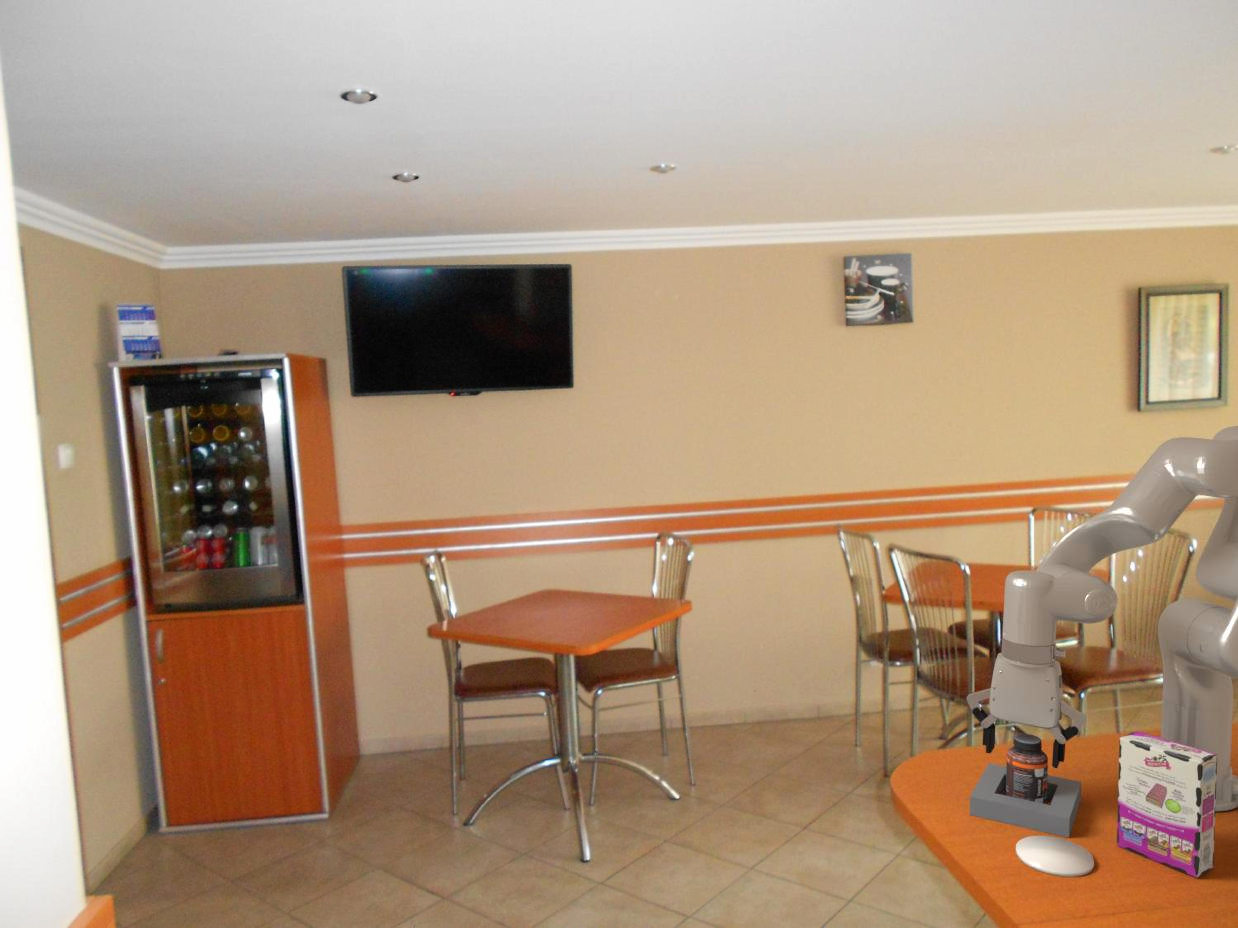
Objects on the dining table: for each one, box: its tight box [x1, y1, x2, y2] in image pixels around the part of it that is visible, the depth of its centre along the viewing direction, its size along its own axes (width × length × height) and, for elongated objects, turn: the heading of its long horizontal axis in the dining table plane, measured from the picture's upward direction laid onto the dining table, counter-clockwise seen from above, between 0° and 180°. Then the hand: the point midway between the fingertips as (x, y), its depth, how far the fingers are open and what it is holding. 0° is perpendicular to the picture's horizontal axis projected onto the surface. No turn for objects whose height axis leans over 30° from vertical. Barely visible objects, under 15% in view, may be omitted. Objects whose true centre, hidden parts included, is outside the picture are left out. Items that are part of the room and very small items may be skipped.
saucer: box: [1015, 835, 1095, 878], centre depth 130 cm, size 10×10×1 cm
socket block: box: [969, 763, 1082, 838], centre depth 145 cm, size 14×14×3 cm
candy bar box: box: [1116, 730, 1217, 879], centre depth 129 cm, size 11×5×16 cm, turn 34°
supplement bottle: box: [1005, 733, 1049, 805], centre depth 145 cm, size 6×6×11 cm
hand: (1022, 757), depth 144 cm, fingers open, 9 cm apart
